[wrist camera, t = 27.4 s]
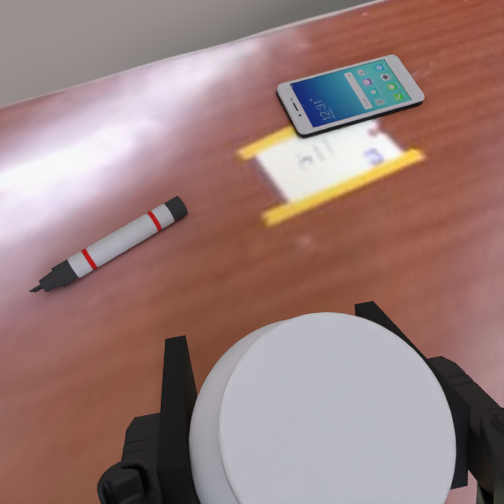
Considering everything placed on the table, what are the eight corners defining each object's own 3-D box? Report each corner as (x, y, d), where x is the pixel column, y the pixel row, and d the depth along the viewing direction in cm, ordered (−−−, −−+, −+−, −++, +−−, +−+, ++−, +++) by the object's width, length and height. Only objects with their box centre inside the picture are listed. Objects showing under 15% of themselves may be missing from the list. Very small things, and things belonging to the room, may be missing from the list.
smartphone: (427, 99, 50) (300, 135, 48) (425, 104, 51) (300, 140, 48) (395, 52, 53) (274, 84, 51) (393, 58, 54) (274, 90, 51)
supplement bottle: (314, 353, 22) (389, 224, 11) (390, 490, 20) (592, 512, 8) (188, 417, 21) (119, 346, 10) (251, 573, 19) (263, 734, 7)
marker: (178, 203, 45) (175, 191, 43) (188, 217, 44) (186, 206, 43) (31, 288, 41) (21, 280, 39) (40, 305, 40) (31, 297, 38)
